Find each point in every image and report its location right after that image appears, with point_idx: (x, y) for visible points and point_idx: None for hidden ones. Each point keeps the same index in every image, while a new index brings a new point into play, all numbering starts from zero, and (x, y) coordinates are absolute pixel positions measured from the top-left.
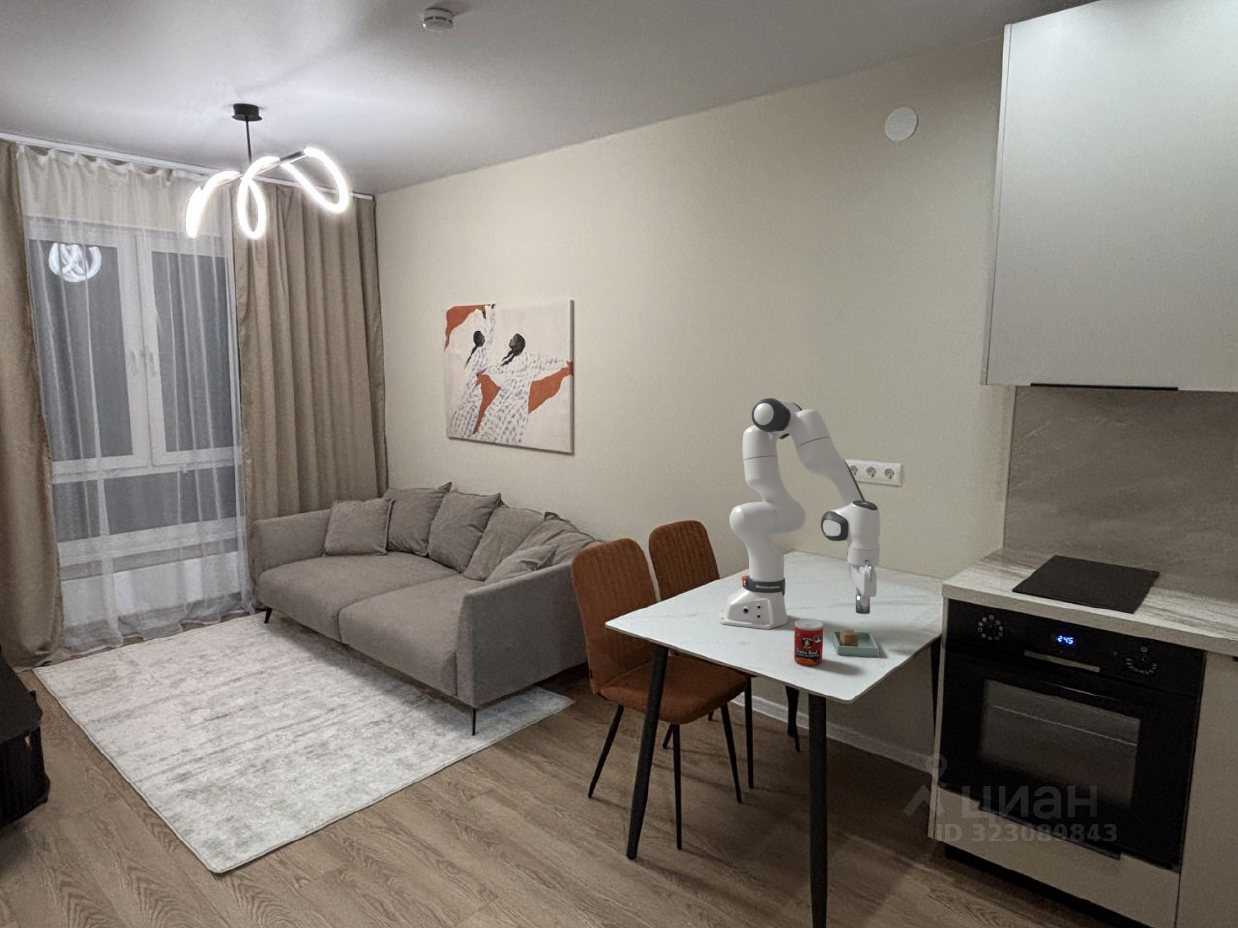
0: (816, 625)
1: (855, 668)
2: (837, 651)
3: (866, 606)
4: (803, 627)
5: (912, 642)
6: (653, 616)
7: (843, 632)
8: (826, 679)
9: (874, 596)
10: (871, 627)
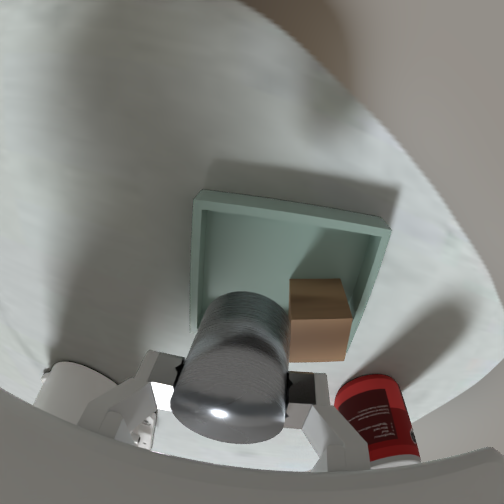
0: (394, 465)
1: (440, 311)
2: None
3: (322, 374)
4: None
5: (222, 21)
6: None
7: (316, 358)
8: (460, 372)
9: (490, 448)
10: (67, 147)
